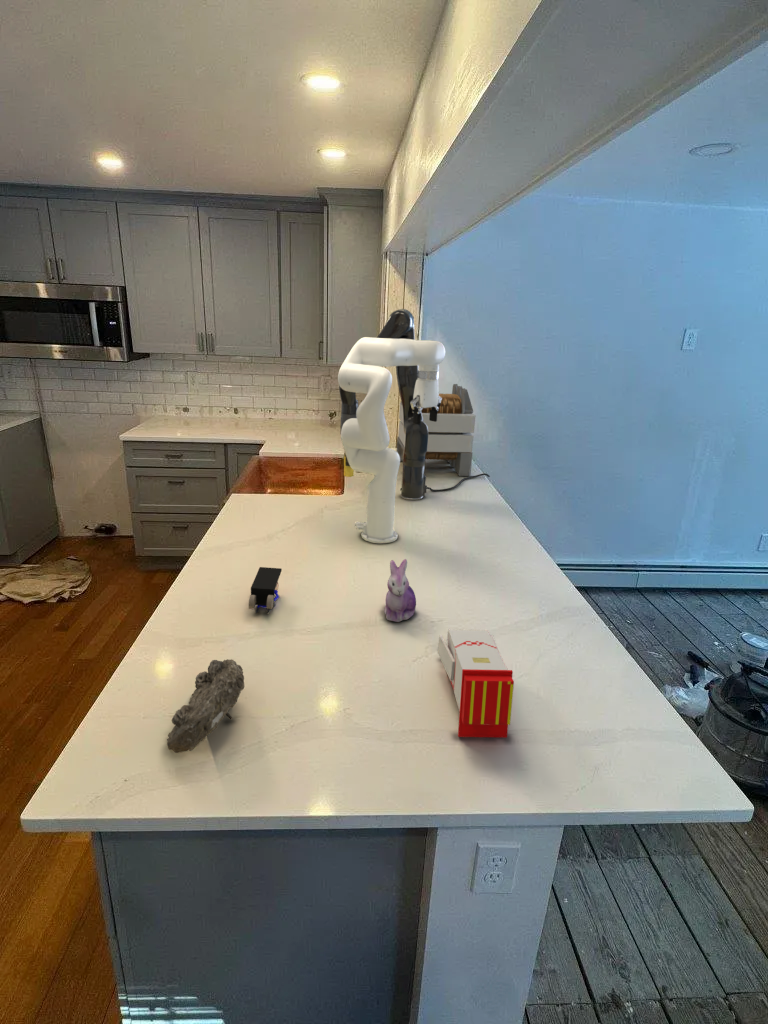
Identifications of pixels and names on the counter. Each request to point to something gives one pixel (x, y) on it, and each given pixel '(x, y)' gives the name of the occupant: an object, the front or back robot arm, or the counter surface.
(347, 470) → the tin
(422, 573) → the counter surface
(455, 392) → the transformer
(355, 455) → the front robot arm
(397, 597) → the figurine
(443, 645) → the toy
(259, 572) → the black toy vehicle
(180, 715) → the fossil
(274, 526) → the counter surface
